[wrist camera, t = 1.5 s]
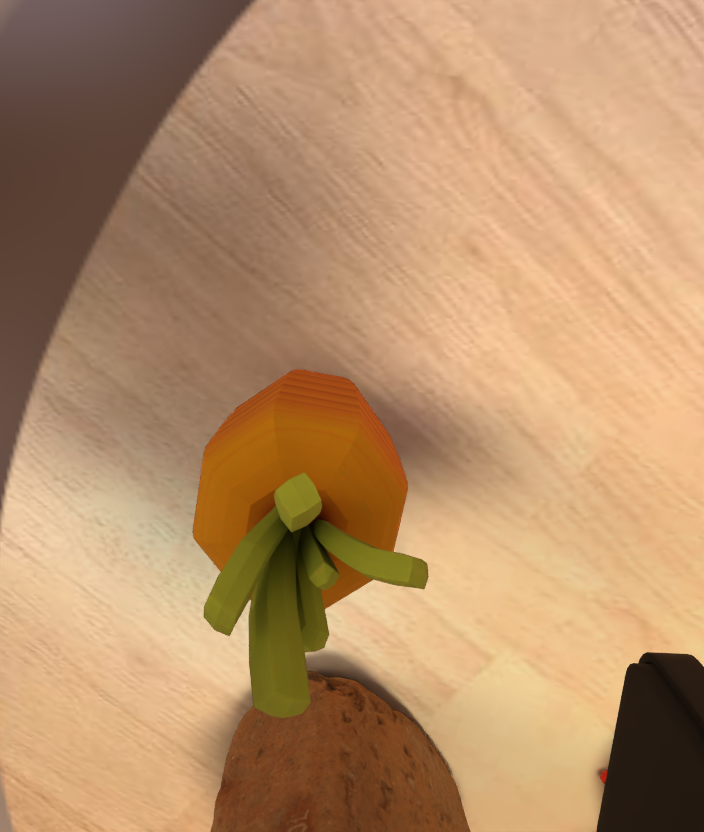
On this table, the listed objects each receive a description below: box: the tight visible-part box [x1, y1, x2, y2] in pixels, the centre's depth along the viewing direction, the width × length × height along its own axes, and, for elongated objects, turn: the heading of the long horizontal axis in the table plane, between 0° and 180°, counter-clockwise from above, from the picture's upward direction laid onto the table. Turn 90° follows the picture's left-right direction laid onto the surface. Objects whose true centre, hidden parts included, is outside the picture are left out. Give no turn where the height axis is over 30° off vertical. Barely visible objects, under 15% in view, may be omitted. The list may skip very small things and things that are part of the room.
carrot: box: [193, 369, 428, 718], centre depth 17 cm, size 5×5×15 cm
